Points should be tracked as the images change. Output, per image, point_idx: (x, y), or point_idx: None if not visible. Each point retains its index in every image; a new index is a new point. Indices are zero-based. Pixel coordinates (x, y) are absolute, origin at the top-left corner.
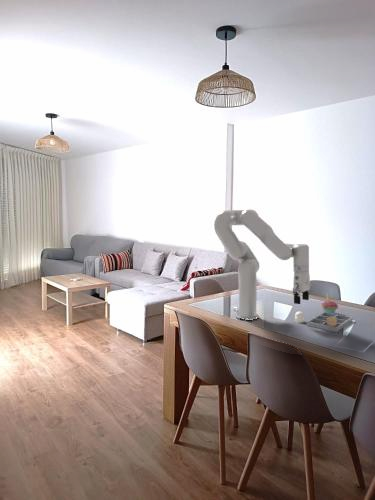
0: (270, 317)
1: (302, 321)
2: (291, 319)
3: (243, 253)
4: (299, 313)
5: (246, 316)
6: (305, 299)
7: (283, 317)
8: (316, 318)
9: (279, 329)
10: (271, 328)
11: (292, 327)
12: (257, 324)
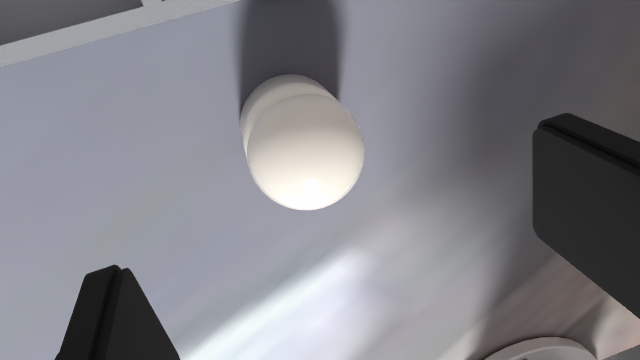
0: (388, 349)
1: (299, 80)
2: (279, 234)
3: None
4: (349, 139)
5: None
6: (153, 313)
7: (295, 309)
8: (59, 28)
9: (610, 74)
10: (625, 133)
11: (484, 43)
12: None
